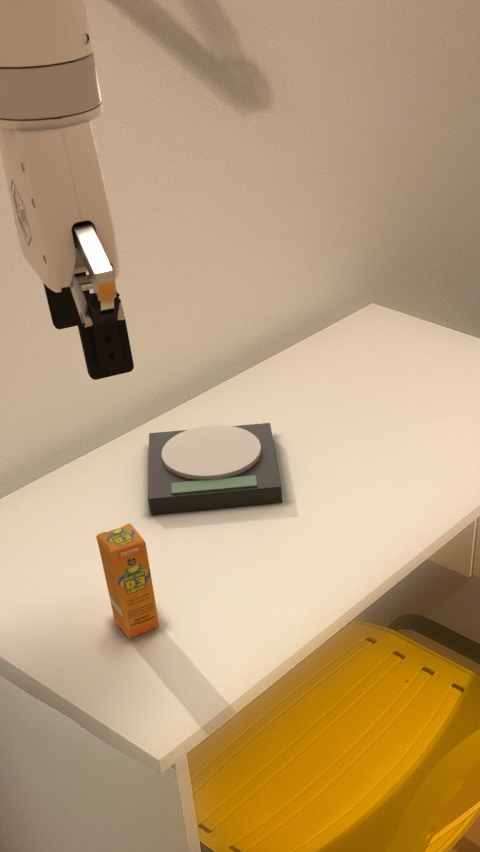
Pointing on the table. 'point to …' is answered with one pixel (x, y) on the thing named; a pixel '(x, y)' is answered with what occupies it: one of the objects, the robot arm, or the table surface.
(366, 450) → the table surface
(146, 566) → the supplement box
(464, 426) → the table surface
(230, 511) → the table surface
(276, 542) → the table surface
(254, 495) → the scale
